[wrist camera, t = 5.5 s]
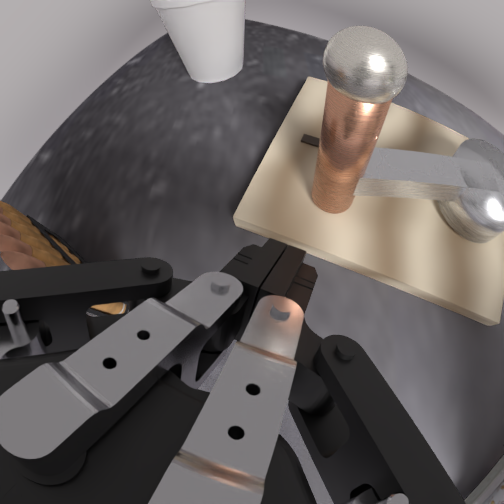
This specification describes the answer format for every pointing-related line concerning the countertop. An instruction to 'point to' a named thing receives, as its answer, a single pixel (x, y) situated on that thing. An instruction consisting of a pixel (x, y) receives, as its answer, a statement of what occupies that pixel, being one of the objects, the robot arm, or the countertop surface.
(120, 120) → the countertop surface
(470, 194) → the lever
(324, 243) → the stand plate
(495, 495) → the cracker box
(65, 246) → the ammunition clip
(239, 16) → the foam cup
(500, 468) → the caliper
